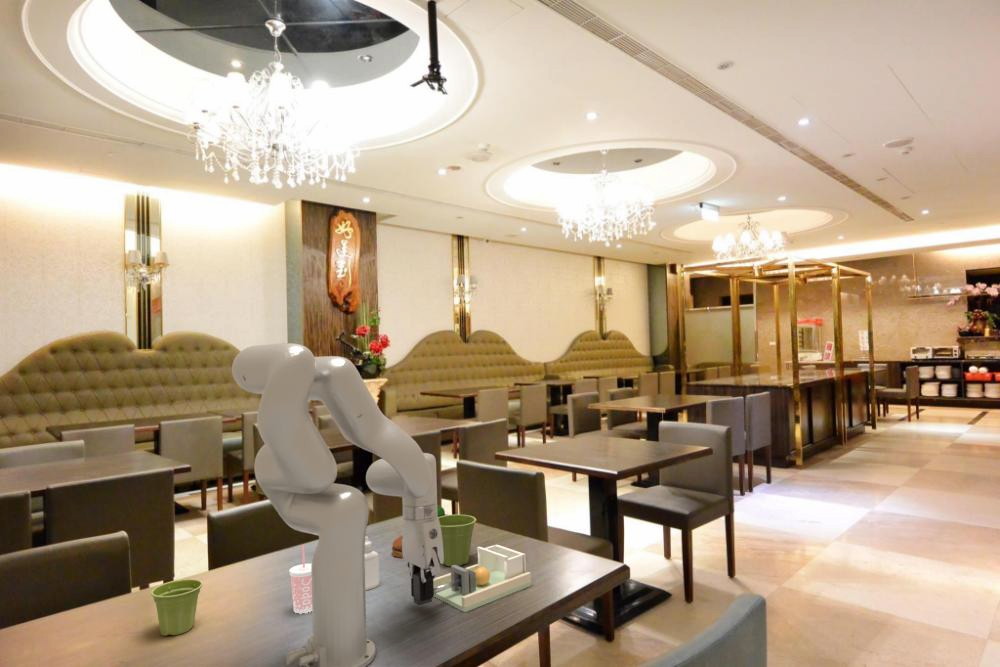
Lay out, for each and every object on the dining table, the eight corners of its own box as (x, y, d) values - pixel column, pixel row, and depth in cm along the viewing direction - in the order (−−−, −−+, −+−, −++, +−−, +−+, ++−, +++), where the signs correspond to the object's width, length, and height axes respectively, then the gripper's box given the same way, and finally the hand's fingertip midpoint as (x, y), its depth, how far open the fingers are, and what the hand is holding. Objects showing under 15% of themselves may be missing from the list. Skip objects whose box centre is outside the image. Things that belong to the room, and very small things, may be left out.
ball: (480, 589, 132) (479, 572, 133) (469, 584, 135) (469, 567, 136) (493, 584, 135) (493, 567, 135) (482, 580, 138) (482, 563, 138)
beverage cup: (288, 617, 124) (287, 551, 124) (291, 605, 130) (290, 542, 130) (318, 613, 125) (317, 548, 126) (319, 601, 131) (318, 539, 132)
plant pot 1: (191, 615, 126) (191, 575, 127) (210, 626, 120) (210, 584, 121) (144, 632, 119) (143, 589, 120) (162, 645, 113) (161, 600, 114)
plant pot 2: (483, 565, 150) (482, 522, 151) (440, 573, 146) (438, 528, 147) (469, 552, 161) (468, 511, 162) (428, 559, 157) (427, 517, 157)
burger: (393, 560, 157) (392, 543, 157) (391, 550, 166) (391, 533, 166) (429, 556, 159) (428, 539, 160) (425, 546, 168) (425, 530, 169)
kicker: (423, 609, 122) (422, 578, 122) (410, 602, 125) (409, 572, 126) (476, 590, 131) (475, 561, 131) (462, 584, 135) (461, 556, 135)
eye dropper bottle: (378, 589, 137) (377, 538, 138) (354, 592, 136) (353, 540, 137) (380, 582, 141) (378, 533, 142) (356, 584, 140) (355, 535, 141)
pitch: (464, 612, 123) (463, 575, 123) (427, 593, 134) (426, 559, 134) (531, 585, 136) (530, 552, 137) (493, 570, 147) (492, 539, 147)
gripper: (456, 514, 122) (459, 602, 121) (414, 501, 134) (416, 582, 133) (426, 522, 117) (429, 614, 116) (386, 508, 129) (388, 591, 128)
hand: (422, 596), depth 124 cm, fingers closed on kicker, 2 cm apart
